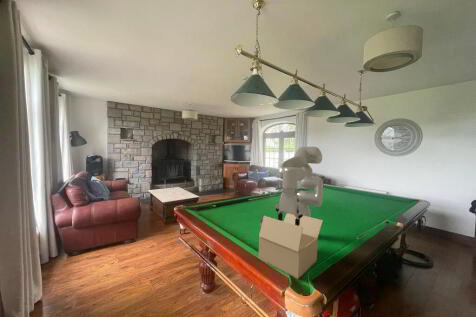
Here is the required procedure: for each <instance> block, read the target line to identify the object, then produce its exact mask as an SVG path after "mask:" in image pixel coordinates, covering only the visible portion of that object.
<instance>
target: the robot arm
mask: <svg viewBox="0 0 476 317" xmlns="http://www.w3.org/2000/svg"><path fill="white" fill-rule="evenodd" d="M322 161H323V155H322V152H321V149H320V148H319V147H317V146H300V147H299V148H297V150H296V152H295V153H294V156H293V157H290V158H288V159H287V160H284V161H283V162H282V163H281V165H280V167H279V169H278V177H279V179H280V180H282V190H281V191H282V192H281V193H280V197H279V203H278V202H277V203H276V204H273V206H274V209H275V211H276V213H277V220H280V221H283V217H284V216H283V213H286V214H287V213H289V214H293V215H295V217H296V219H295V225H297V226H299V225H300V218H301V217H303V216H307V217H311V209H310V207H309V206H312V207H316V208H317V207H321V206H322V205H323V196H324V195H323V193H324V192H323V191H324V181H323V179H322V178H321V177H319V176H313V168H312V167H311V165H310V164H313V165H315V164H318V165H319V164H321V163H322ZM298 187H299V188H301V189H304V190H299V189H298Z"/></svg>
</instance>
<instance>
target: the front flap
mask: <svg viewBox="0 0 476 317" xmlns="http://www.w3.org/2000/svg"><path fill="white" fill-rule="evenodd" d="M262 218H263V222H262V226H261V230H260V229H259V235H258V236H260V237H262V238H265V239H267V240H270V241H272V242H275V243H277V244H280V245H282V246H285V247H287V248H290V249H292V250H295V251H297V252H299V247H300V241H301V236H302V230H303V227H301V226H297V225H294V224H290V223H287V222H284V220H282V221H280V220H278V218H277V219H276V218H274V217H272V218H271V217H270V216H266V215H264V216H263V217H262Z"/></svg>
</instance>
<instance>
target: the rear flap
mask: <svg viewBox="0 0 476 317" xmlns="http://www.w3.org/2000/svg"><path fill="white" fill-rule="evenodd" d="M295 219H296V217H295V215H293V214H289V213H286V214H285V217H284V219H283V221H284V222H287V223H290V224H294V225H295ZM323 221H324V219H318V218H314V217H311V216H310V217H307V216H303V217H301V218H300V225H299V226H301V227H303V230H302V233H303V234H306V235H309V236H312V237H315V238H319V235H320V232H321V228H322V225H323Z"/></svg>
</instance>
